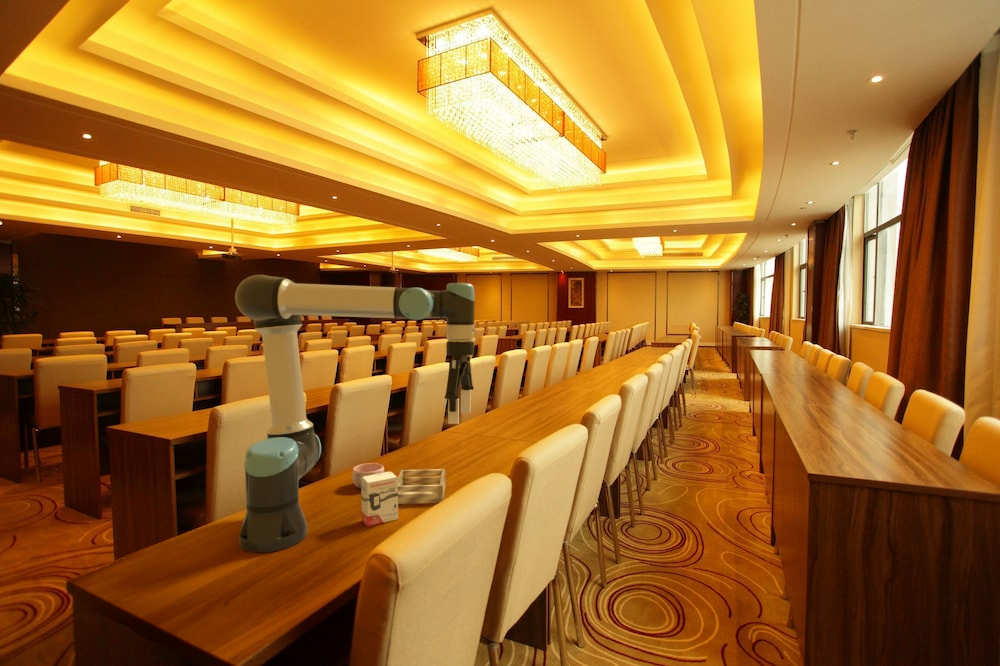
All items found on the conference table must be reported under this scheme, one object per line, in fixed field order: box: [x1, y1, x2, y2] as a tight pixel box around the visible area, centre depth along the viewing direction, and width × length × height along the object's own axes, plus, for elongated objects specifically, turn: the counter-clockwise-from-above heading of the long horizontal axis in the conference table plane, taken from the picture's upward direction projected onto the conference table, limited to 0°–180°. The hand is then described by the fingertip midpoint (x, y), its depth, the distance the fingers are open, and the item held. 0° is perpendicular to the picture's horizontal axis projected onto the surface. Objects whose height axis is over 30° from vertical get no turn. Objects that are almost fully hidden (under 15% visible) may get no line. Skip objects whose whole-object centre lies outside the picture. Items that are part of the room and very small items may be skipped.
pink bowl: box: [351, 462, 385, 489], centre depth 157 cm, size 12×10×6 cm
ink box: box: [360, 471, 399, 527], centre depth 131 cm, size 8×5×12 cm, turn 123°
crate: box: [397, 468, 447, 505], centre depth 149 cm, size 14×15×5 cm
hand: (459, 418), depth 135 cm, fingers open, 13 cm apart
